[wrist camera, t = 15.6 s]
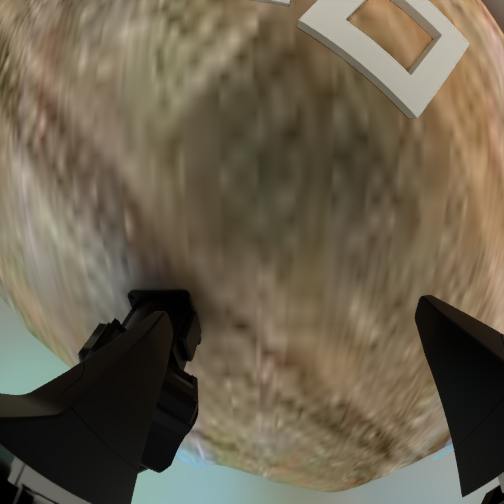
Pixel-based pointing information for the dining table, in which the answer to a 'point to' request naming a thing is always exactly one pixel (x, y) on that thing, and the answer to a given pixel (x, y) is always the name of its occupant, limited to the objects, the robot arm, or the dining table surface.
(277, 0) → the grey mat
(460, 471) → the robot arm
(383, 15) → the dining table surface
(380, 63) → the pocket holder
